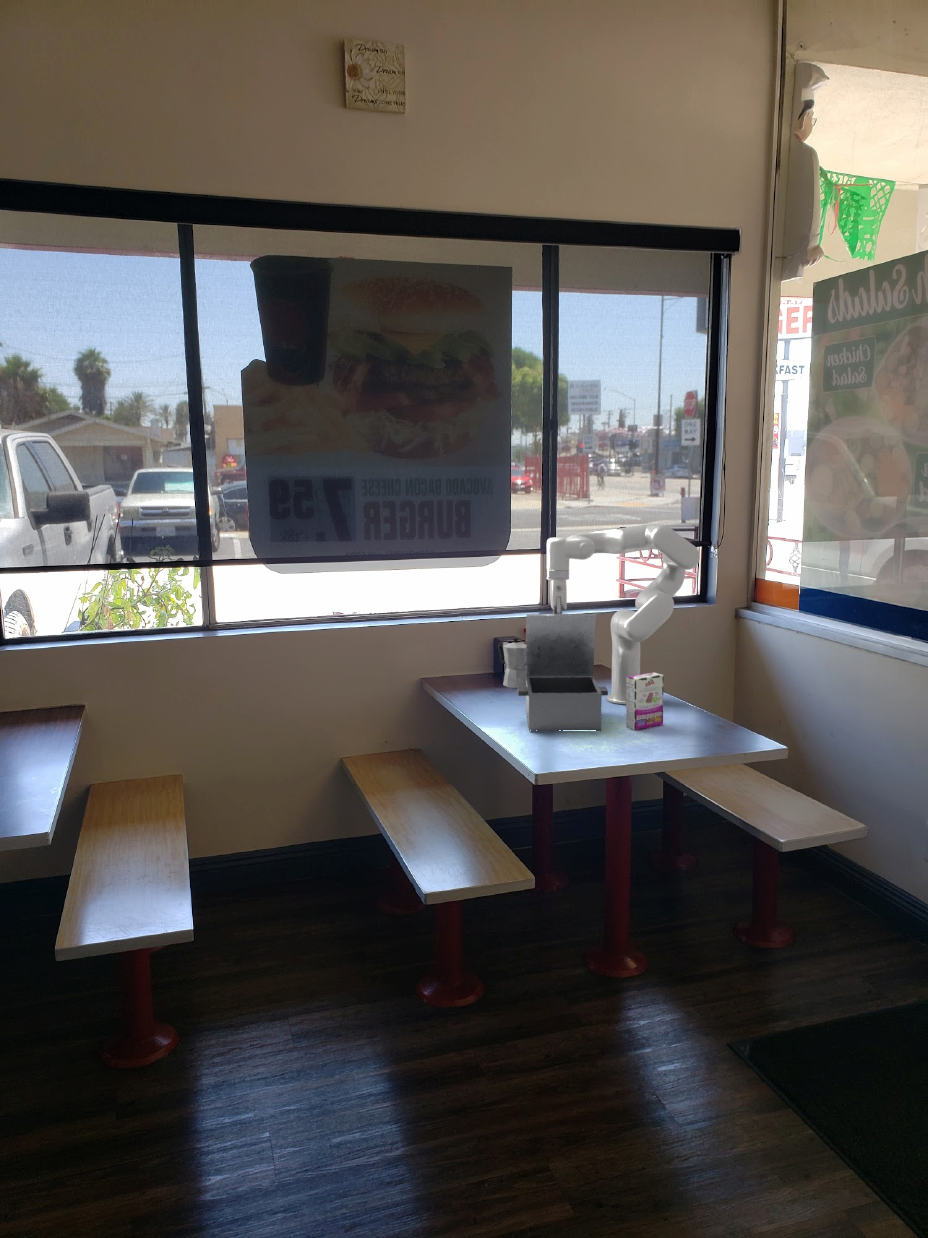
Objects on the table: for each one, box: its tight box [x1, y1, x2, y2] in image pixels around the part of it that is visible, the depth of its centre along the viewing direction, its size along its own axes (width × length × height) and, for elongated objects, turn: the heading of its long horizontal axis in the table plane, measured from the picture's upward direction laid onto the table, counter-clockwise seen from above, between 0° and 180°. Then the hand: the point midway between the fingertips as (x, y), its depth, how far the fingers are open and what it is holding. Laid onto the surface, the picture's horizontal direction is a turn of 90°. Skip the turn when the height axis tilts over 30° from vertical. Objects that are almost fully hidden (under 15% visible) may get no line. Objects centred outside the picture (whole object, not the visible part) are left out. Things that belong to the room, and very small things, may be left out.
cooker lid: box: [525, 613, 597, 677], centre depth 292 cm, size 22×22×3 cm
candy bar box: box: [625, 672, 664, 732], centre depth 278 cm, size 11×5×16 cm, turn 117°
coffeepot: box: [497, 637, 526, 689], centre depth 333 cm, size 15×9×18 cm, turn 44°
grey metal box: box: [517, 676, 609, 732], centre depth 285 cm, size 28×22×12 cm
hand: (557, 628), depth 302 cm, fingers closed
